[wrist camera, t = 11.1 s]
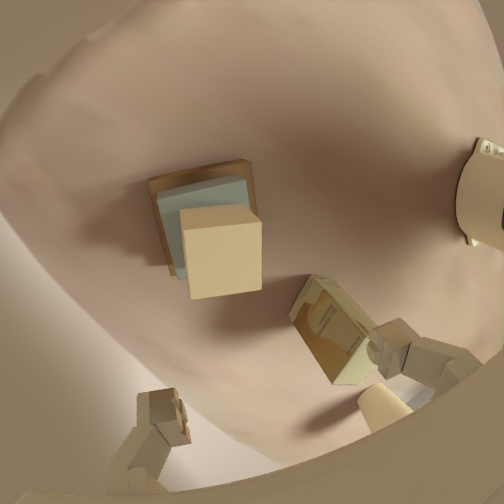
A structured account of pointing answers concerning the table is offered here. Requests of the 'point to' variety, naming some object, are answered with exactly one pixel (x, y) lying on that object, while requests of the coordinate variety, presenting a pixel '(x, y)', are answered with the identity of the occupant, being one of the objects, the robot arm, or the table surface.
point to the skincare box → (334, 330)
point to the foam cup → (381, 407)
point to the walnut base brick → (196, 176)
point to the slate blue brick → (193, 197)
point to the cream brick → (221, 250)
